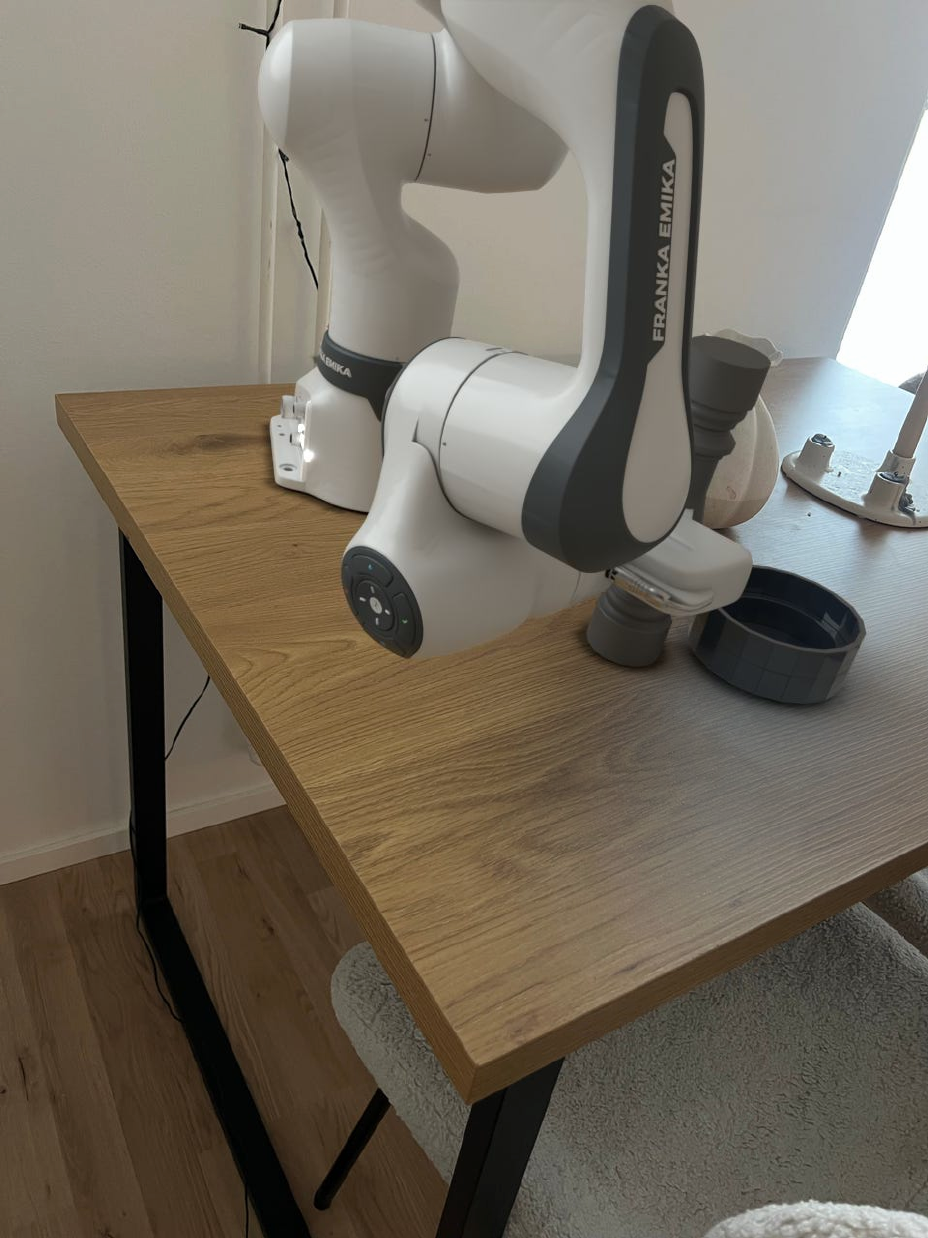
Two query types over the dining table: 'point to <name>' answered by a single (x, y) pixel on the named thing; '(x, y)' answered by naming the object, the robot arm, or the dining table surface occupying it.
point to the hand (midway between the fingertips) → (673, 500)
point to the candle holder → (718, 403)
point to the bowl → (780, 638)
